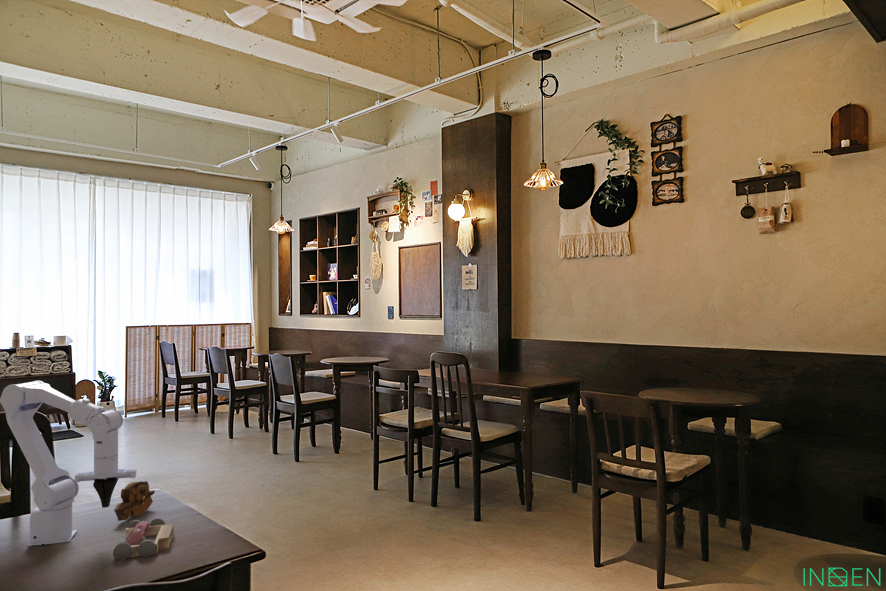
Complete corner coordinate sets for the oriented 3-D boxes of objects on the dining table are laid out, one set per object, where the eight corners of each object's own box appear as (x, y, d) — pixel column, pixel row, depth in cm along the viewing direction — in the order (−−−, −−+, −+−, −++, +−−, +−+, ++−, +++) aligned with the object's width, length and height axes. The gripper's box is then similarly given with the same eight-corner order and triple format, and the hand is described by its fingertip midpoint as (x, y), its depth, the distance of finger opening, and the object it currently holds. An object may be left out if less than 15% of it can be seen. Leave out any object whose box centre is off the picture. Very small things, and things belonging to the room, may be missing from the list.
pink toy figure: (134, 558, 156) (147, 532, 157) (116, 551, 155) (130, 526, 156) (143, 543, 166) (156, 519, 166) (127, 537, 165) (140, 513, 165)
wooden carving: (128, 526, 174) (128, 491, 174) (113, 526, 175) (113, 491, 175) (157, 506, 191) (157, 475, 191) (143, 506, 191) (143, 475, 191)
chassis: (112, 561, 151) (112, 545, 151) (127, 535, 167) (127, 520, 167) (166, 554, 154) (166, 539, 154) (175, 530, 171) (175, 515, 171)
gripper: (71, 461, 158) (70, 513, 158) (132, 457, 162) (132, 508, 162) (79, 455, 165) (79, 505, 164) (137, 451, 168) (137, 500, 168)
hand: (106, 506), depth 163 cm, fingers closed
